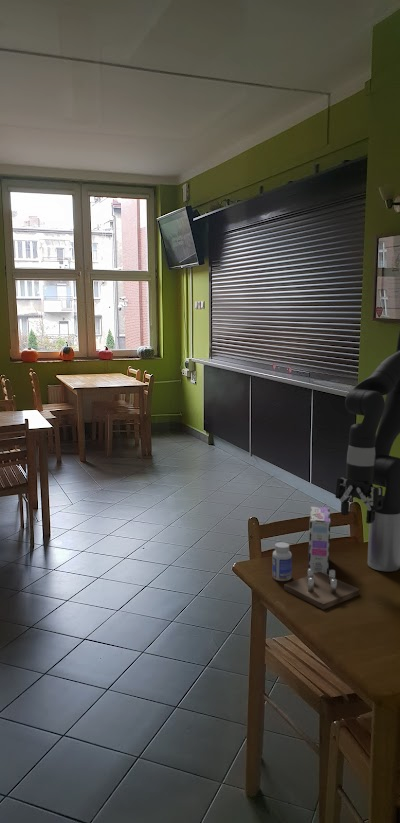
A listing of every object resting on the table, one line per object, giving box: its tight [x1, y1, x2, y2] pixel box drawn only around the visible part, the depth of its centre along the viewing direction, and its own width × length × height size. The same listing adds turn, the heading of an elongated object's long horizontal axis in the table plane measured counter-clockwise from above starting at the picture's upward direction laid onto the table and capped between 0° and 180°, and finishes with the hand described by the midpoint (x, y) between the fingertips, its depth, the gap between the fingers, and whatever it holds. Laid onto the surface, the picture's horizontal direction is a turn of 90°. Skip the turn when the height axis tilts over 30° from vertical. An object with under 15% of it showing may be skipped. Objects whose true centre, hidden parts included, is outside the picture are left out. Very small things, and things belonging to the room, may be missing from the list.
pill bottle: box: [271, 541, 293, 582], centre depth 169 cm, size 5×5×10 cm
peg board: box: [283, 572, 360, 611], centre depth 160 cm, size 14×14×2 cm
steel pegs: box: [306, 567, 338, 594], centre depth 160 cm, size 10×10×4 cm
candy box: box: [308, 506, 331, 576], centre depth 176 cm, size 14×6×16 cm, turn 168°
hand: (357, 518), depth 167 cm, fingers open, 8 cm apart
